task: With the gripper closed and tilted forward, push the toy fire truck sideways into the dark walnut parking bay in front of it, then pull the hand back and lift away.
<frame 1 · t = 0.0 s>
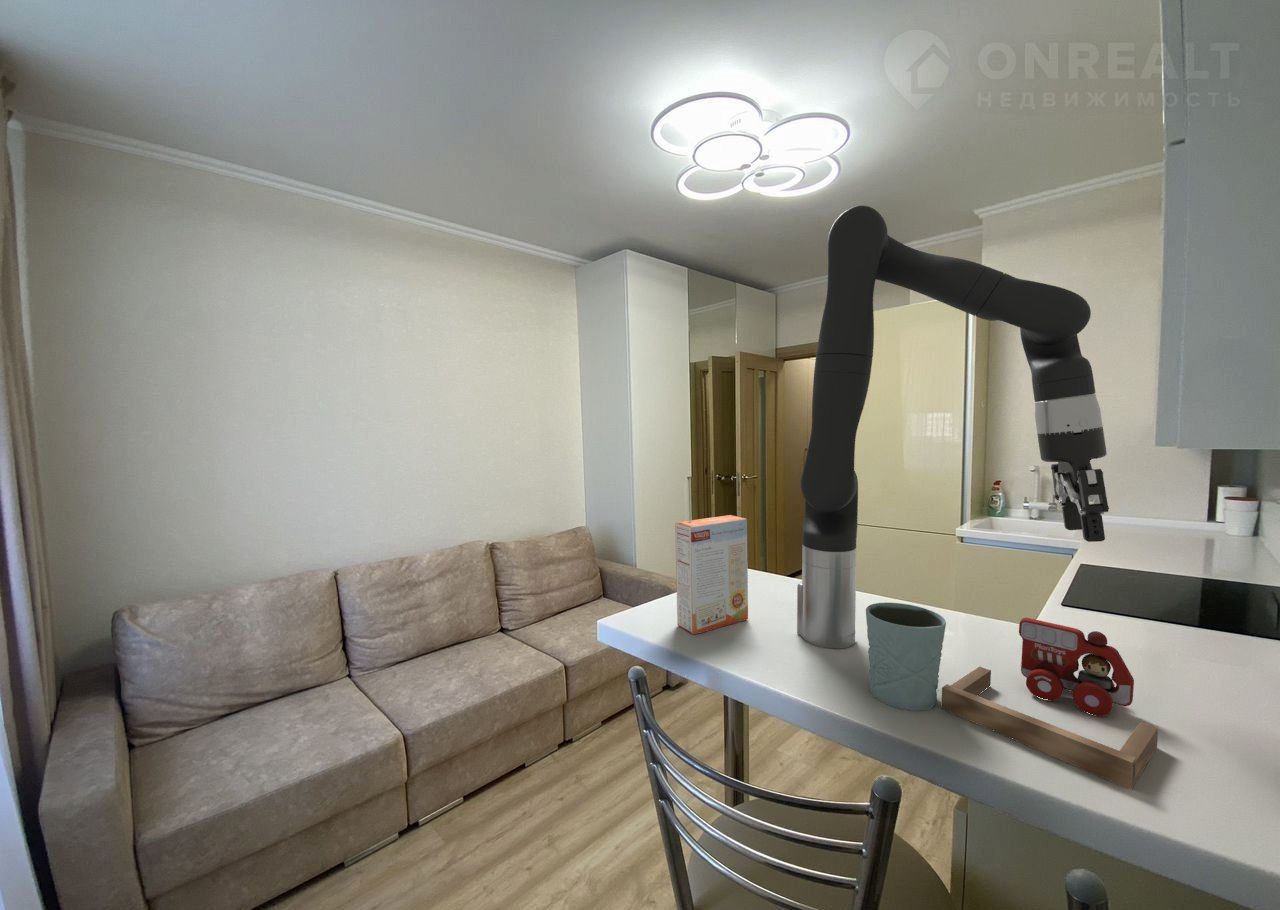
hand: (1084, 535, 75), 22 cm above the table, tool pointing down, fingers open, 8 cm apart
toy fire truck: (1071, 700, 71), on the table
cracker box: (712, 623, 100), on the table
parking bay: (1041, 726, 65), on the table
grey-green textured vase: (903, 695, 73), on the table
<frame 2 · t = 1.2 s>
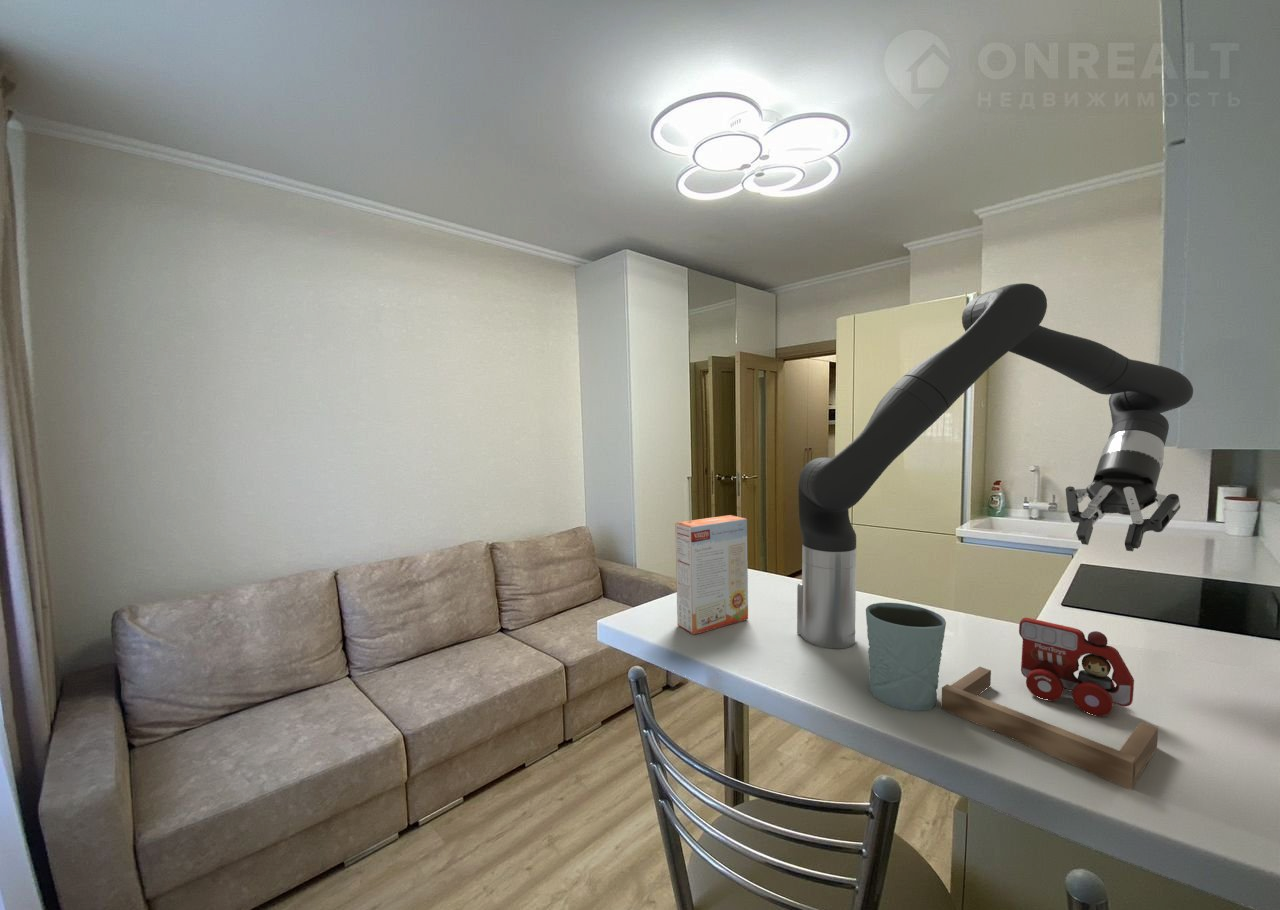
hand: (1105, 544, 78), 20 cm above the table, tool tilted 45°, fingers open, 4 cm apart
nothing on the table moved.
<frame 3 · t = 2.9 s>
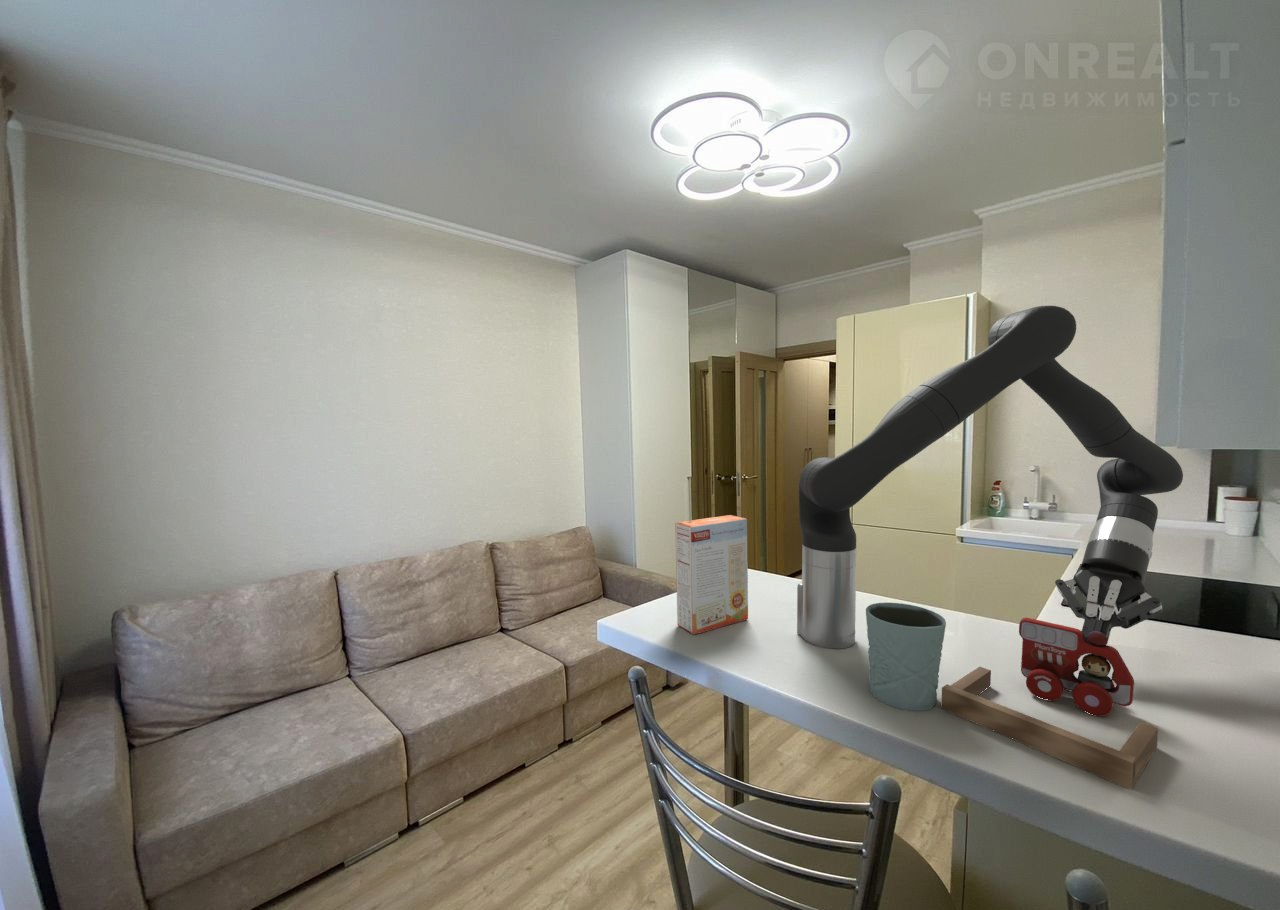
hand: (1092, 644, 75), 6 cm above the table, tool tilted 45°, fingers closed
nothing on the table moved.
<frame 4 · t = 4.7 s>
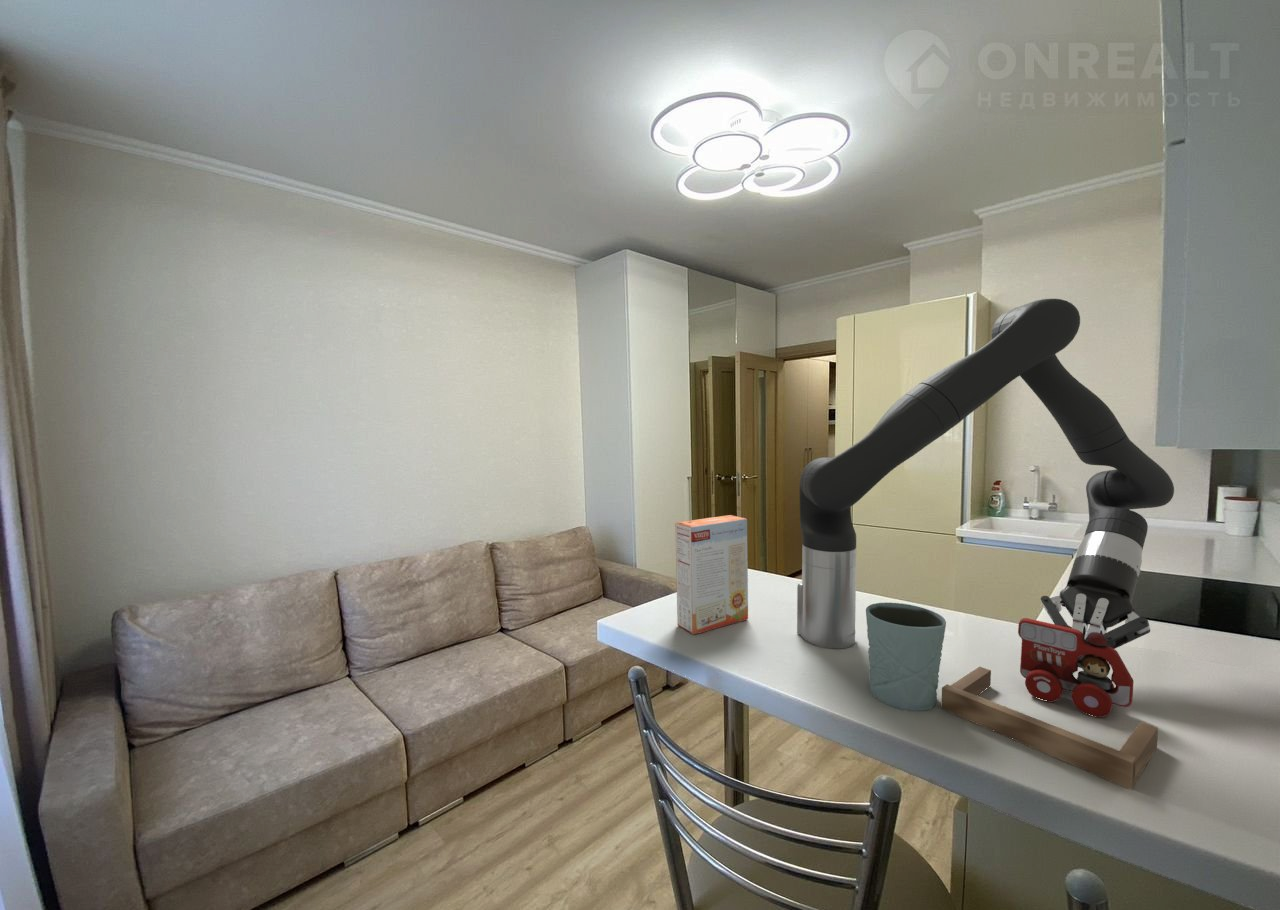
hand: (1077, 664, 73), 4 cm above the table, tool tilted 45°, fingers closed
toy fire truck: (1070, 701, 71), on the table, touching gripper
everything else where it was.
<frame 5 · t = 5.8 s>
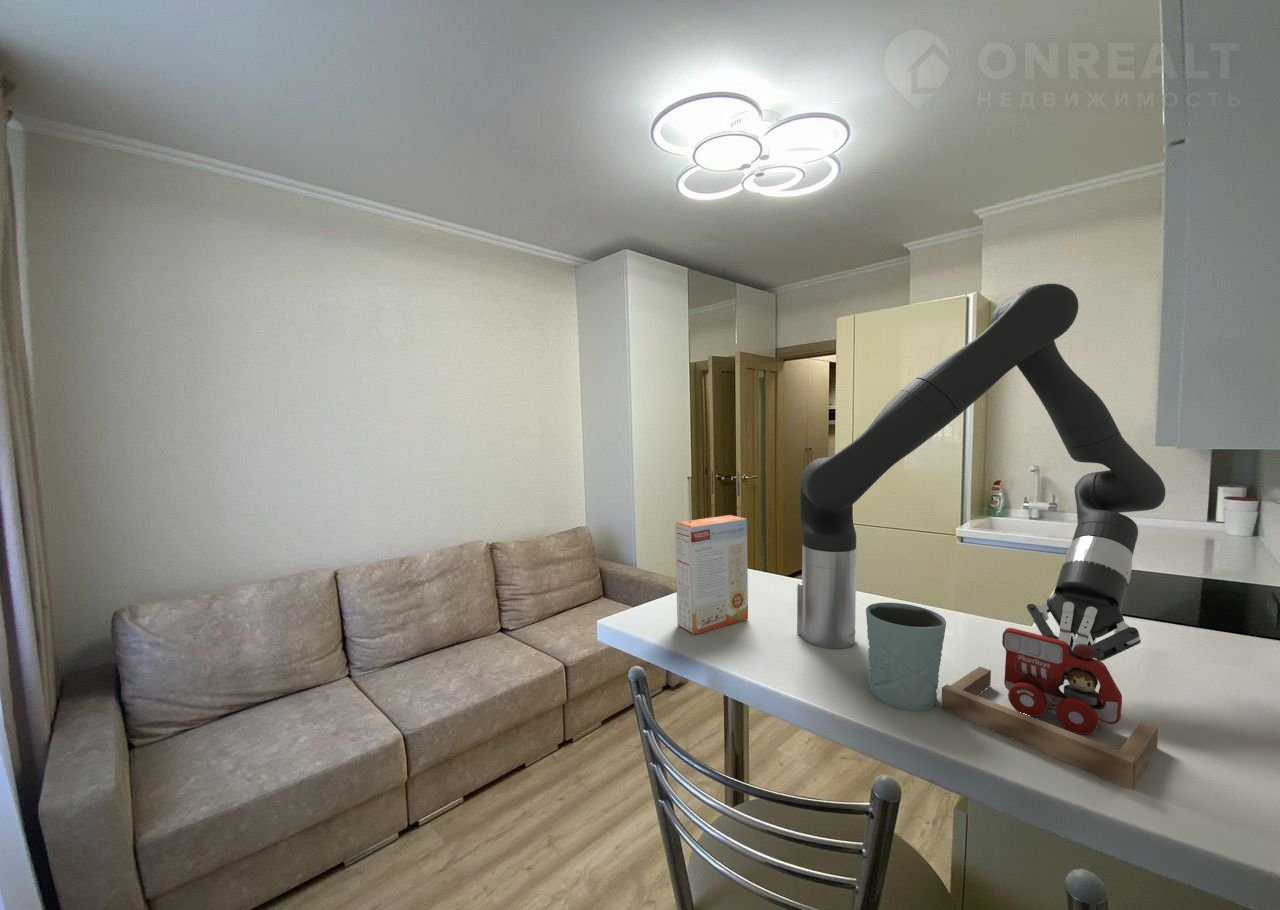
hand: (1064, 677, 69), 4 cm above the table, tool tilted 45°, fingers closed
toy fire truck: (1056, 716, 67), on the table, touching gripper
everything else where it was.
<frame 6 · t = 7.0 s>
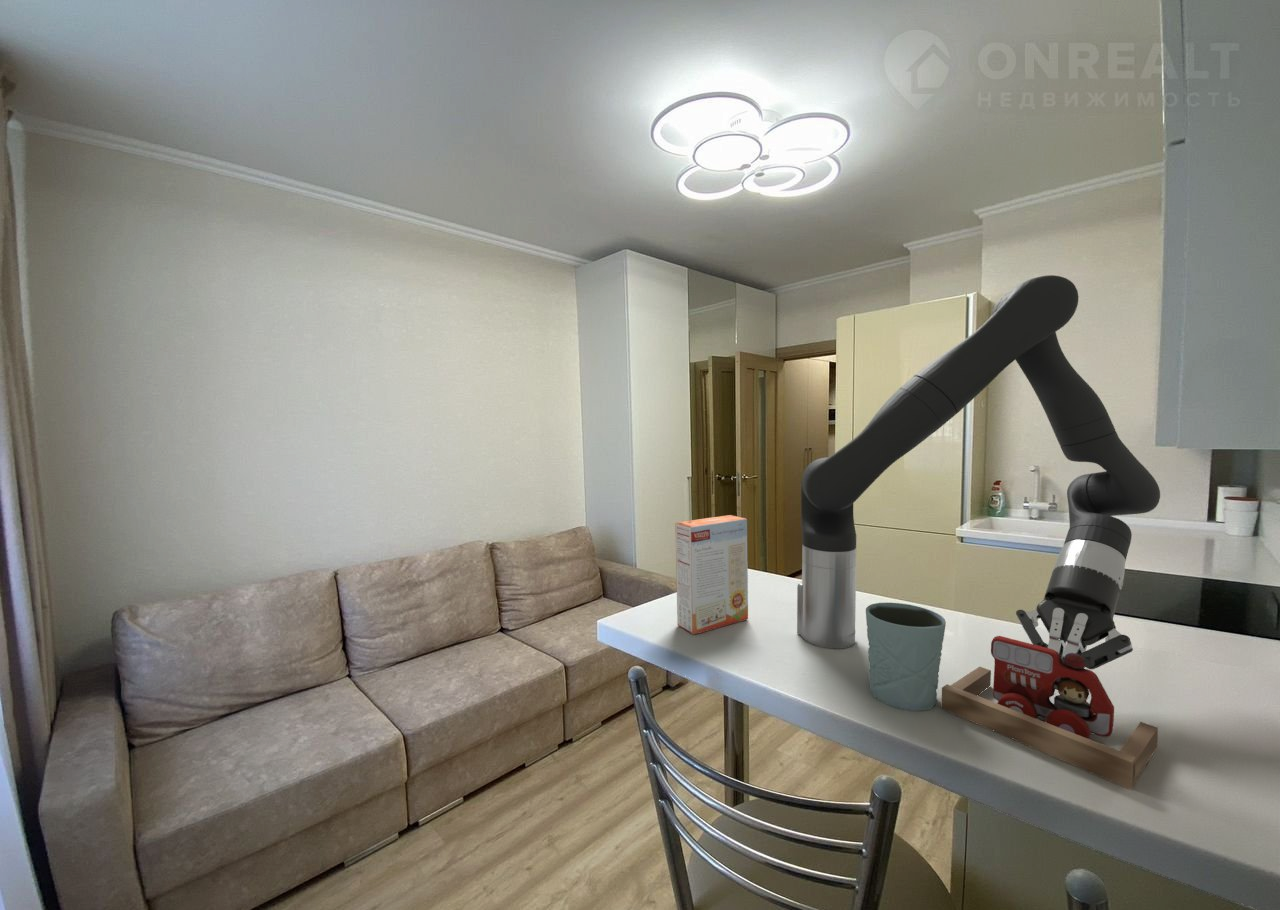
hand: (1053, 686, 66), 4 cm above the table, tool tilted 45°, fingers closed
toy fire truck: (1046, 728, 65), on the table
everything else where it was.
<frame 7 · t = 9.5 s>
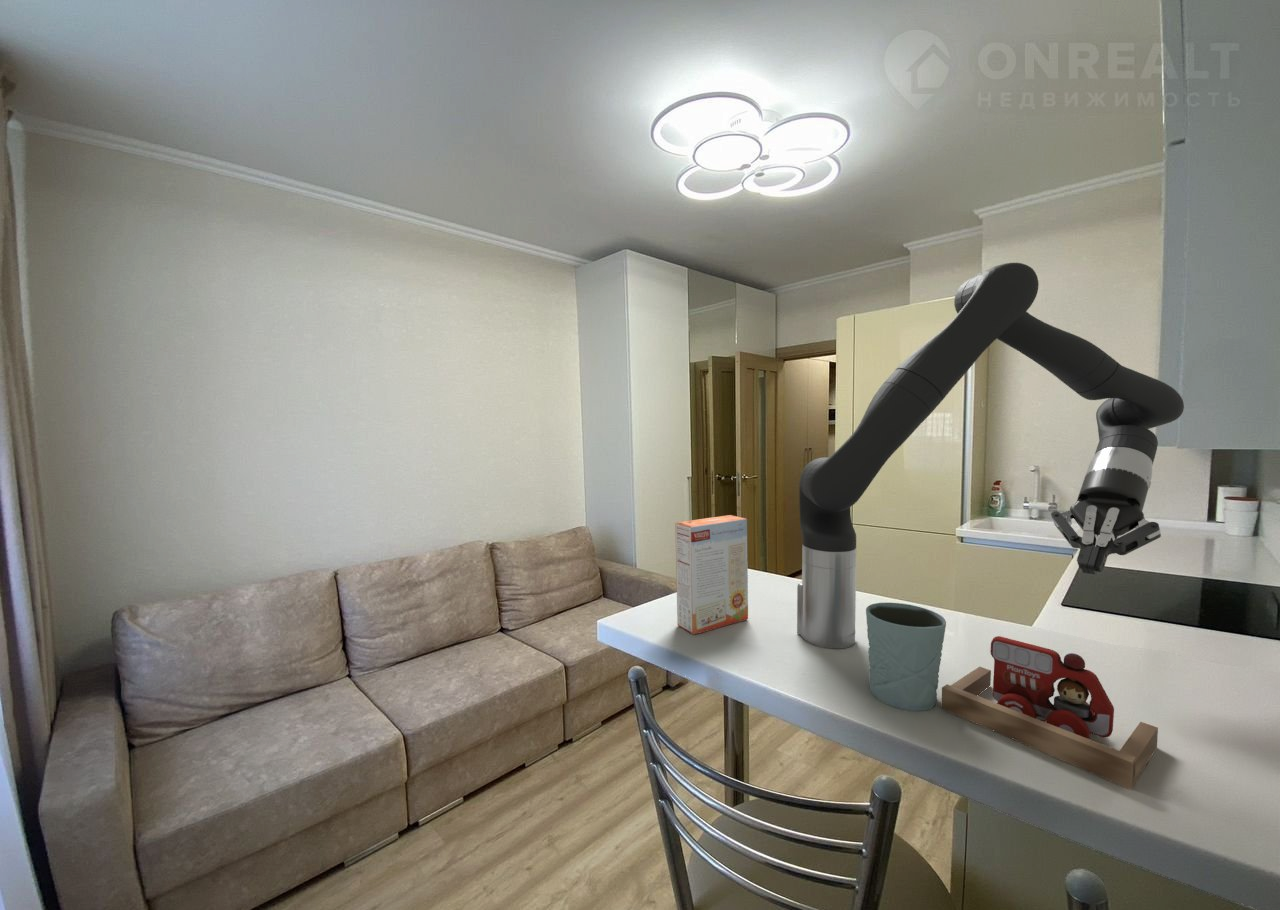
hand: (1088, 570, 73), 17 cm above the table, tool tilted 45°, fingers closed
nothing on the table moved.
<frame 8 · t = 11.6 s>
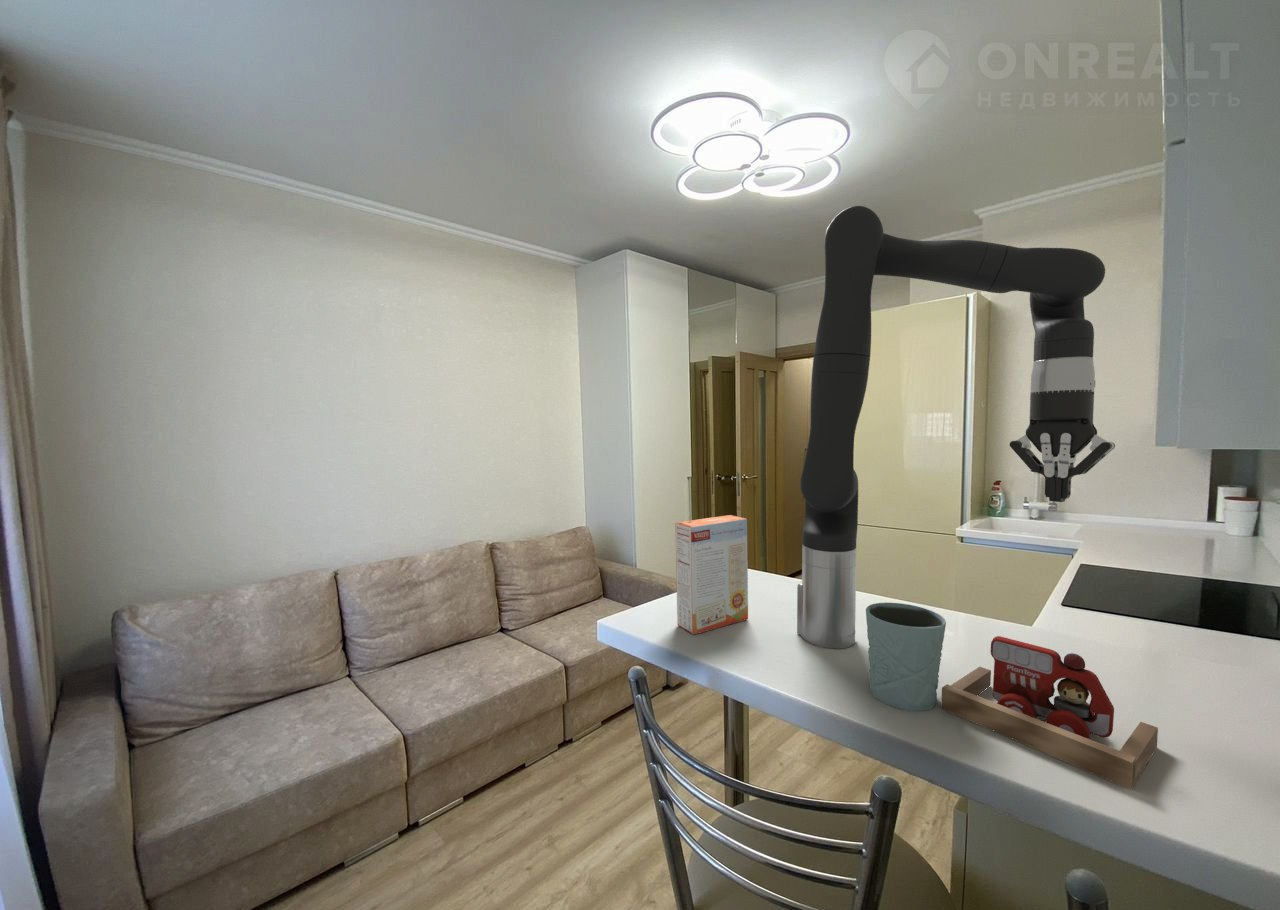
hand: (1057, 501, 78), 27 cm above the table, tool pointing down, fingers closed
nothing on the table moved.
at the end: toy fire truck inside the target area (0.3 cm from its centre), on the table; toy fire truck tilted 0°; toy fire truck moved 11.0 cm from its start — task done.
